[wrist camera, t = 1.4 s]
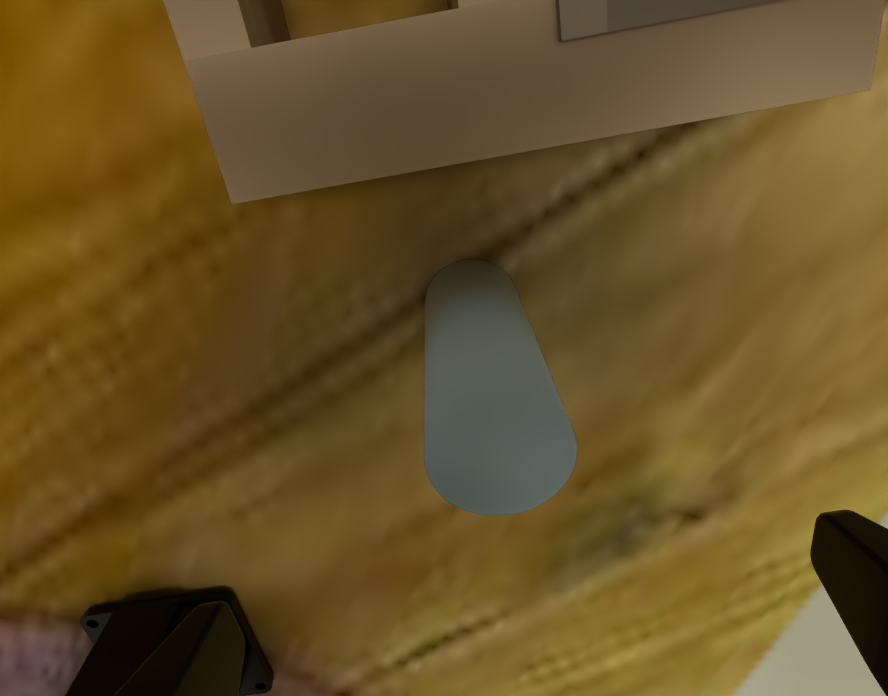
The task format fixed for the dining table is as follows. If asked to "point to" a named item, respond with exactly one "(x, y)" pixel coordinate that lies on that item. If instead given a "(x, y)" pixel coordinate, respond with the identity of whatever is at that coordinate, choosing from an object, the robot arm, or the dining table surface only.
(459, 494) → the dowel
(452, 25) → the socket block
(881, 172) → the dining table surface
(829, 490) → the dining table surface
